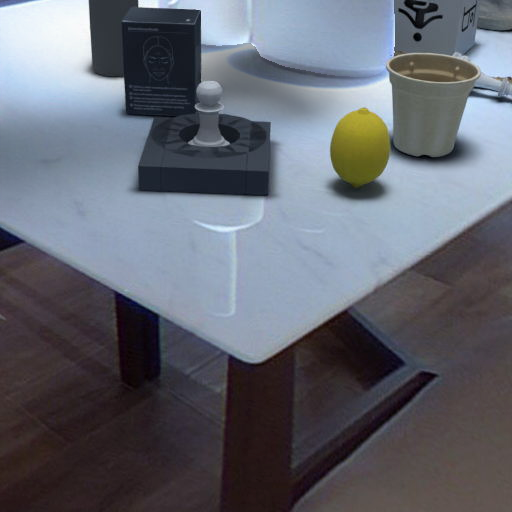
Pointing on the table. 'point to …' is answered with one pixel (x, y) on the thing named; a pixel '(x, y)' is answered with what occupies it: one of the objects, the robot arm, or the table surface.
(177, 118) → the dark grey holder base
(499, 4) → the sneaker
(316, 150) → the table surface
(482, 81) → the chess piece
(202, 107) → the chess piece
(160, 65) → the box
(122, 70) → the bottle
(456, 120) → the flower pot
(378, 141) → the lemon
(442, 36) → the icon cube
